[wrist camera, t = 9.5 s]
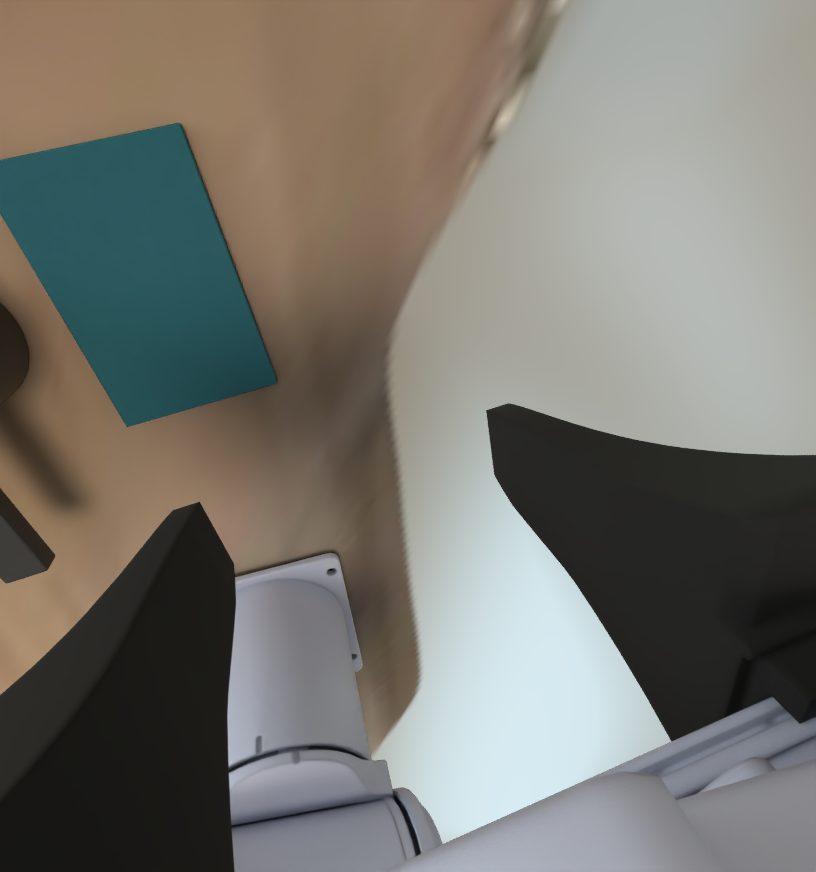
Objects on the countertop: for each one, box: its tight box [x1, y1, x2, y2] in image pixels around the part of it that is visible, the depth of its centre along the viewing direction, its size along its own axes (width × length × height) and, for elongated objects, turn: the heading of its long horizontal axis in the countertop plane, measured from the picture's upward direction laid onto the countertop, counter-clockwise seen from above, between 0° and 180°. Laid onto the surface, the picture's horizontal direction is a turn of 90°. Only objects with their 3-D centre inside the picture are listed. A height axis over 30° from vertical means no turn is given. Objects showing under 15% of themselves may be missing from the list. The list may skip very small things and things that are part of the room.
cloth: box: [0, 123, 277, 427], centre depth 16 cm, size 6×9×1 cm, turn 12°
